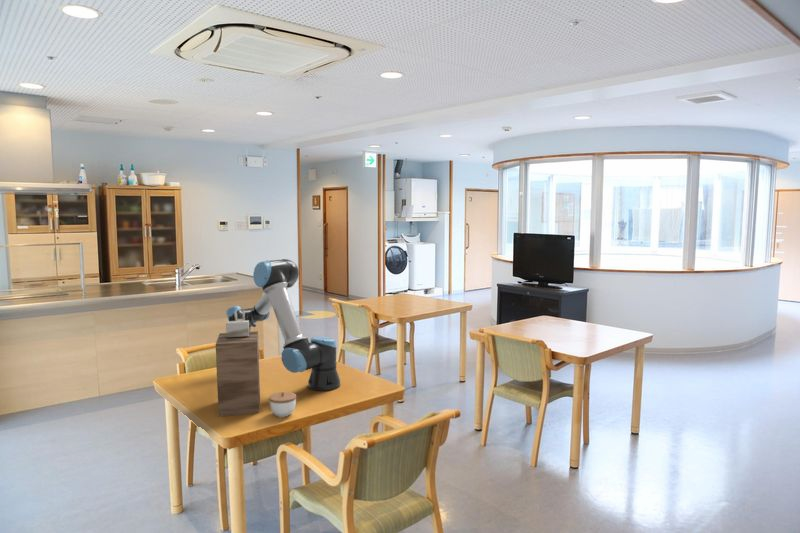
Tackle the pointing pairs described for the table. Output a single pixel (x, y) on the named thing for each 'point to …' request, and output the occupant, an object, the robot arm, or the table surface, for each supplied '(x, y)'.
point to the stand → (238, 374)
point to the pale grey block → (237, 328)
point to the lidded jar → (282, 403)
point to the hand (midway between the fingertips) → (239, 313)
